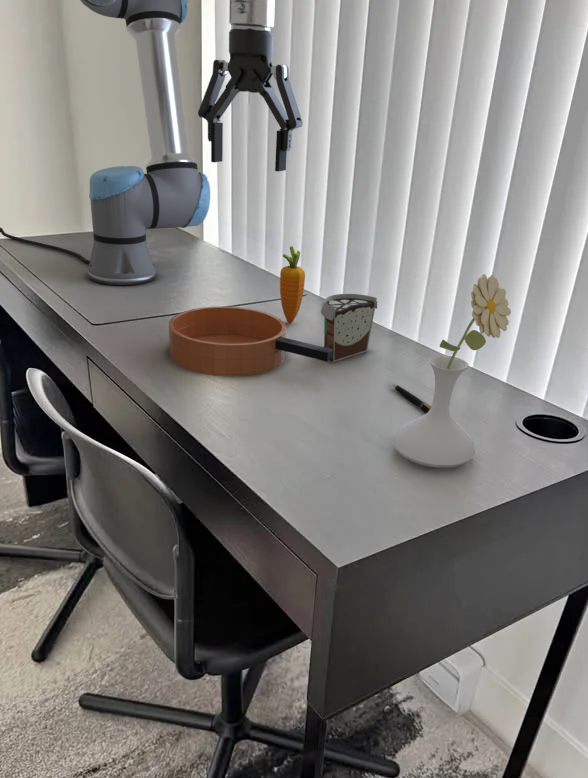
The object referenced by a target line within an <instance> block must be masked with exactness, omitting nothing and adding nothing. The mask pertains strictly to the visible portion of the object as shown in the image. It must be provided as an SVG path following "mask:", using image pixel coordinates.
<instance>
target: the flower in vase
mask: <svg viewBox="0 0 588 778" xmlns="http://www.w3.org/2000/svg"><path fill="white" fill-rule="evenodd" d="M476 282H477V283H473V287H472V291H471V292H470V296H471V299H472V300H471V302H470V305H471V306H470V307H471V308H472V311H471V316H472V319H471V320H470V322H469V324H468V325H467V327H466V329H465V331H464V333H463V334H462V337H461V339H460V341H459V342H458V344H457V345H453V344H451V343H449V342H448V341H446V340H445V339H442V340H441V341H440V344H439V347H440V348H441V349H443V350H447V351H450V352H453V353H452V355H445V354H444V355H443V354H442V355H441V354H439V355H435V356H431V357H430V358H429V360H428V361H429V364H430V366H431V368H432V371H433V374H434V392H433V399H432V404H431V405H430V406H431V409H430V410H429V412H428V413H425V414H423V415H421V416H418V417H417V418H414V419H412V420H410V421H408V422H406V423H404V424H403V425H401V426H400V427H399V428H397V429H396V431H395V432H394V434H393V435H392V439H391V442H392V445H393V447H394V449H395V450H396V452H397V453H398V454H399V455H400V456H402V457H403V458H404V459H406V460H408V461H410V462H412V463H414V464H417V465H420V466H425V467H430V468H438V469H450V468H456V467H460V466H463V465H466V463H468V462H470V461H471V460H472V459H473V457H475V454H476V448H475V444H474V443H475V442H474V441H473V439H472V438H471V436H470V435H469V433H467V432H466V430H465V429H463V428H462V426H460V424H458V423H457V422H456V421H455V420H454V419H453V418H452V416H451V414H450V406H451V405H450V404H451V398H452V395H453V392H454V388H455V385H456V383H457V381H458V379H459V378H460V376H461V375H462V373H463V372H465V370H467V369H468V367H469V363H468V362H467V361H466V360H464V359H462V358H460V357H456V356H457V353H458V351H459V350H460V349H461V346H462V344H463V342H465V344H466V345H467V347H468V348H469V349H470V350H472V351H478V350H480V349H481V348H483V347H484V346H485V345H486V343H487V339H486V337H485V335H486V336H487V337H489V338H490V337H491V338H494V339H495V338H497V339H499V338H501V330H502V331H503V332H506V331H507V330H508V326H509V324H510V323H509V322H510V321H509V318H508V316H509V317H510V316H511V313H512V310H511V308H510V307H508V306H509V300H508V299H507V298H506V295H507V292H506V289H505V288H501V287H499V286H500V284H499V280H498V278H497V277H495V276H494V275H493V274H491V275H490V276H488V277H487V275H486V273H483V274H482V275H481V276H480V277H478V278H477V281H476ZM474 322H475V325H476V326H477V327H478V329H479V331H478V330H477V329H472V330H470V329H471V327H472V326H473V324H474ZM484 334H485V335H484Z"/></svg>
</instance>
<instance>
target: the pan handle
mask: <svg viewBox="0 0 588 778" xmlns="http://www.w3.org/2000/svg"><path fill="white" fill-rule="evenodd" d="M275 349H278V350H282V351H285V353H291V354H295V355H299V356H302V357H306V358H310V359H315V360H319V361H322V362H330V359H331V358H332V352H333V349H329V348H325V347H324V346H321V345H316V344H313V343H308V342H304V341H300V340H296V339H292V338H287V337H285V338H284V337H280V338H278V339H277V340H276V345H275Z"/></svg>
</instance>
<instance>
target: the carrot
mask: <svg viewBox="0 0 588 778" xmlns="http://www.w3.org/2000/svg"><path fill="white" fill-rule="evenodd" d="M289 252H290V255H291V256H289V255H288V254H286V253H283V254H282V257H283V258H284V259H286V261H287V262H288V264H289V265H286V266H283V267H282V268H281V269H280V273H279V277H280V278H279V295H280V302H281V308H282V311H283V315H284V317H285V319H286V322H287V323H288V324H292V323H293V322H294V320H295V319H296V318H297V315H298V314H299V311H300V308H301V305H302V301H303V297H304V290H305V281H306V272H305V270H304V269H303V268H302V266H298V264H299V263H298V262H299V260H300V257H301V251H300V250H297V251H295V247H294V246H289Z"/></svg>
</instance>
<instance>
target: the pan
mask: <svg viewBox="0 0 588 778" xmlns="http://www.w3.org/2000/svg"><path fill="white" fill-rule="evenodd" d="M286 334H287V325H286V324H285V323H284V321H283V320H281V319H280V318H279V317H277V316H275V315H273V314H271V313H268V312H265V311H263V310H259V309H258V310H257V309H254V308H247V307H240V306H239V307H238V306H207V307H206V306H205V307H204V306H203V307H198V308H197V307H196V308H192V309H188V310H183V311H182V312H179V313H177V314H175V315H174V316H173V317H171V318H170V320H169V322H168V340H169V341H168V342H169V344H168V346H169V357H170V359H171V360H172V361H173V362H174V363H175V364H177V365H178V366H179V367H181V368H183V369H186V370H187V371H192V372H194V373H197V374H203V375H210V376H216V377H245V376H253V375H260V374H262V373H263V374H264V373H267V372H269V371H272V370H274V369H276V368H278V367H279V366H280V365H282V364H283V362H284V359H285V353H286V351H282V350H278V349H275V345H276V340H277V339H278V338H280V337H284V338H286V336H287V335H286Z"/></svg>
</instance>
